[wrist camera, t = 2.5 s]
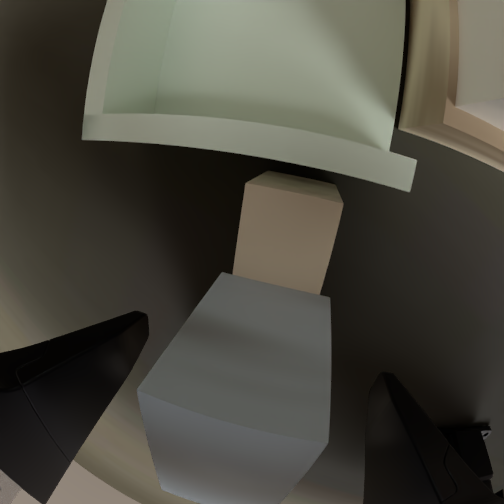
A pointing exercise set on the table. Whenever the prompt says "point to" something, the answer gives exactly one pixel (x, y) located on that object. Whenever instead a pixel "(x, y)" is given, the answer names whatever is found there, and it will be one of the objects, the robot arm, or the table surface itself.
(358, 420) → the table surface
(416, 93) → the tan tray
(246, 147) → the tray
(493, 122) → the tile
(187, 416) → the grey and tan block
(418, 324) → the table surface
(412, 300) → the table surface
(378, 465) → the robot arm
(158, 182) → the table surface
